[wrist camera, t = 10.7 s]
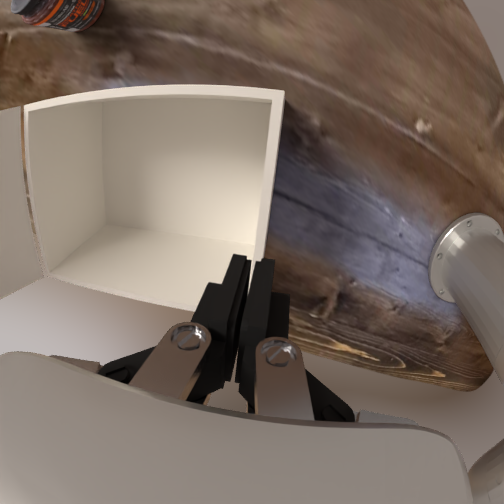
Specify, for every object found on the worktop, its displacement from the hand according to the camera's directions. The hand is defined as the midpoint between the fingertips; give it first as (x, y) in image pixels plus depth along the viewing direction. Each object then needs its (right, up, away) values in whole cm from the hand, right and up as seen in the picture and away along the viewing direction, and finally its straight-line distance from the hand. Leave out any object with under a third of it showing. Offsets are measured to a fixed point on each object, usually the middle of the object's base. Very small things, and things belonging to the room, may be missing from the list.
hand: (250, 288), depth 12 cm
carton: (-8, +10, +17) cm, 21 cm away
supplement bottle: (-19, +30, +8) cm, 36 cm away
